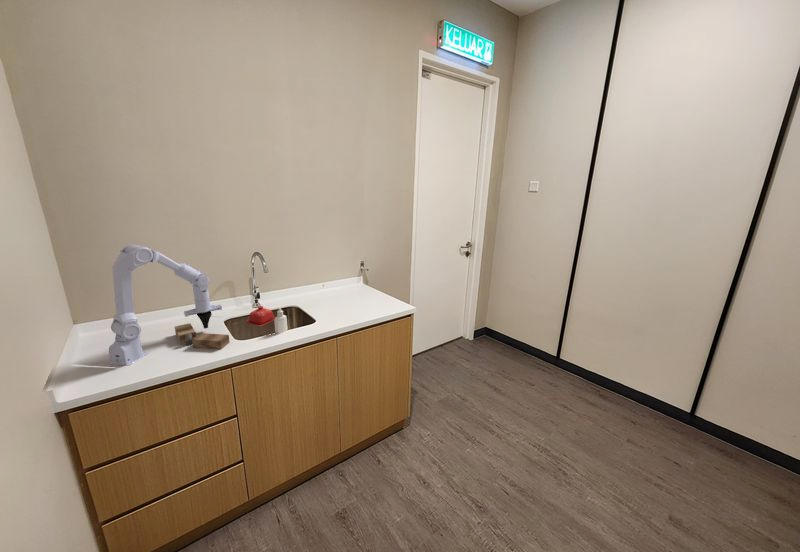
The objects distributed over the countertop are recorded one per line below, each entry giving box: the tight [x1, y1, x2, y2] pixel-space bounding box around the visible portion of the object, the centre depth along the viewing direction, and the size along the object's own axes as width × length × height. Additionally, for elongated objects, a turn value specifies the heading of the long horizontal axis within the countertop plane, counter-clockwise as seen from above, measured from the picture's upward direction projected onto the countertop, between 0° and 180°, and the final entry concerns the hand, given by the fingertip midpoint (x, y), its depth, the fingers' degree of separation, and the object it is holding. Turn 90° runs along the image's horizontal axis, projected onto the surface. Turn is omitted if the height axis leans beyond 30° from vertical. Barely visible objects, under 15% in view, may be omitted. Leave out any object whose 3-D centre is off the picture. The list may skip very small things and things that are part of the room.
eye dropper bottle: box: [273, 307, 288, 334], centre depth 152 cm, size 4×6×12 cm
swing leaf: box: [174, 323, 197, 346], centre depth 144 cm, size 15×6×4 cm, turn 41°
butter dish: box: [245, 305, 277, 327], centre depth 164 cm, size 12×12×8 cm
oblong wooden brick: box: [192, 332, 230, 350], centre depth 139 cm, size 12×6×4 cm, turn 86°
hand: (205, 327), depth 151 cm, fingers closed
